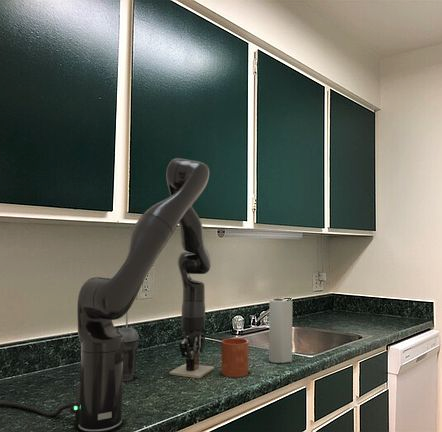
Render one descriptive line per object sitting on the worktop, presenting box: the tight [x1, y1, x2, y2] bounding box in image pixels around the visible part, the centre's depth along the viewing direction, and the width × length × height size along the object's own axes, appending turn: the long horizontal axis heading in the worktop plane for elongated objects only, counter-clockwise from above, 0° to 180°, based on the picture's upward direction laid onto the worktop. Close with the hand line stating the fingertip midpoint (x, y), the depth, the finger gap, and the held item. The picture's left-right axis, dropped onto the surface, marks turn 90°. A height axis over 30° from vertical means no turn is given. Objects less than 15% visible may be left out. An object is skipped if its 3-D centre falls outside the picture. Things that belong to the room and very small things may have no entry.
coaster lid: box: [168, 351, 215, 379], centre depth 144 cm, size 10×10×6 cm
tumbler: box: [220, 337, 250, 378], centre depth 143 cm, size 9×9×10 cm
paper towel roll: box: [268, 298, 293, 364], centre depth 157 cm, size 7×6×21 cm
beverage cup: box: [118, 310, 140, 382], centre depth 136 cm, size 7×7×20 cm
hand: (192, 368), depth 144 cm, fingers closed on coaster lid, 3 cm apart
